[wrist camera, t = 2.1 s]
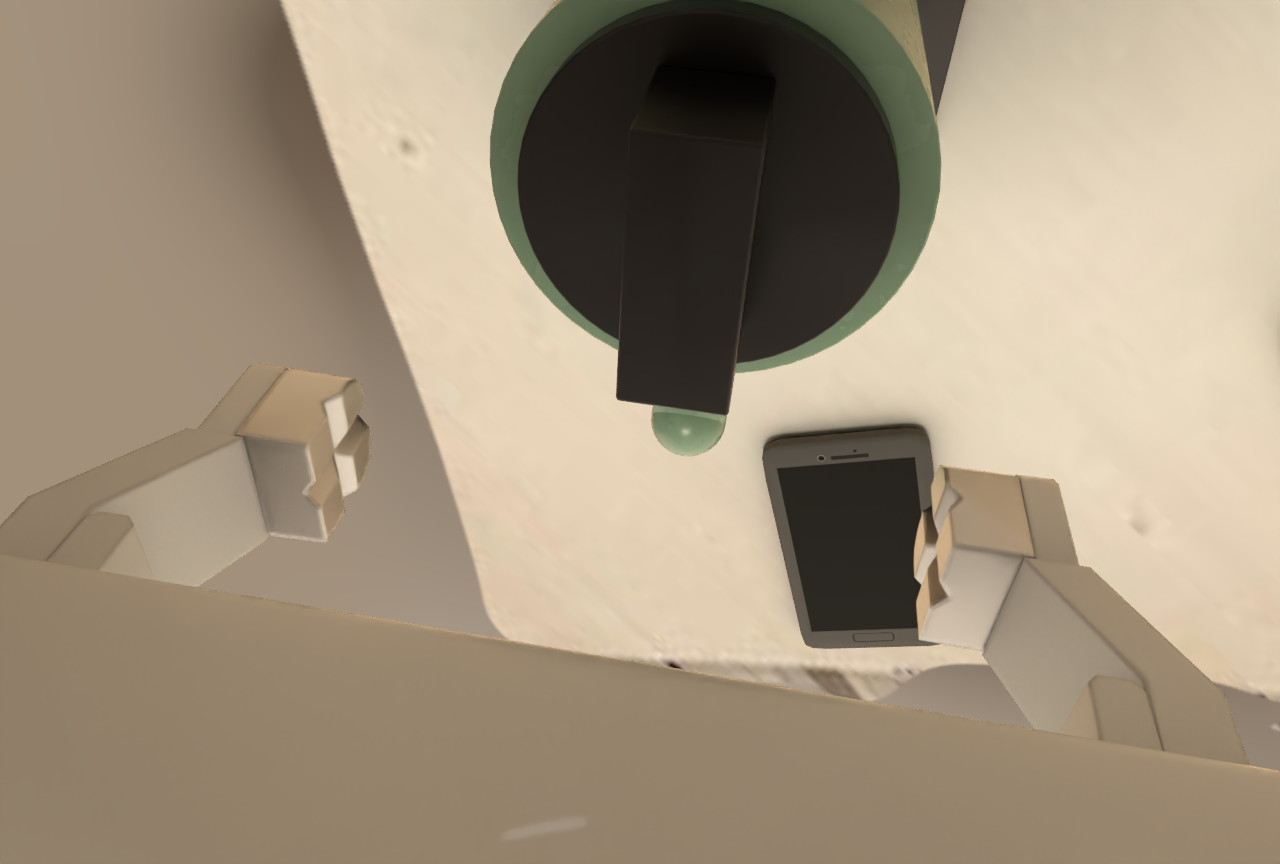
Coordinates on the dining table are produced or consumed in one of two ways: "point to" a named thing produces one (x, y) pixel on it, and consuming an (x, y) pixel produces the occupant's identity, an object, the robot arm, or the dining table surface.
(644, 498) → the dining table surface
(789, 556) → the cell phone
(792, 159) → the kettle
